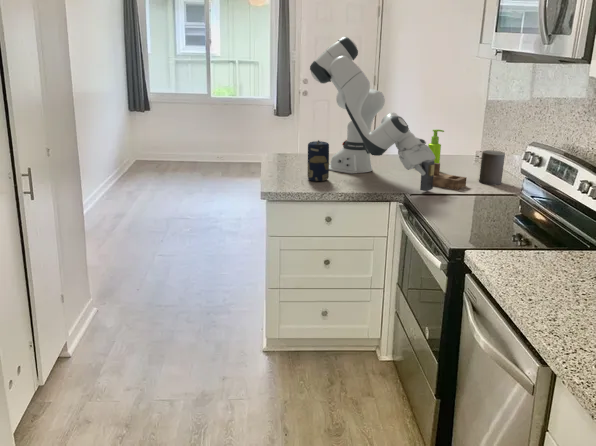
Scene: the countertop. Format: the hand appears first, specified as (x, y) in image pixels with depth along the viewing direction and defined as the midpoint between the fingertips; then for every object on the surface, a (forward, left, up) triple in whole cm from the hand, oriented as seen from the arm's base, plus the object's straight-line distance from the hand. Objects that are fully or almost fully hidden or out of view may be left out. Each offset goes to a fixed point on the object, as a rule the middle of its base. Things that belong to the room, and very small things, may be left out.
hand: (428, 173), depth 245 cm
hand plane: (+4, +16, -8) cm, 18 cm away
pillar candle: (+21, +30, -8) cm, 38 cm away
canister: (-50, 0, -8) cm, 50 cm away
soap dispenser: (-7, +42, -8) cm, 43 cm away
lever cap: (-1, 0, -7) cm, 7 cm away
